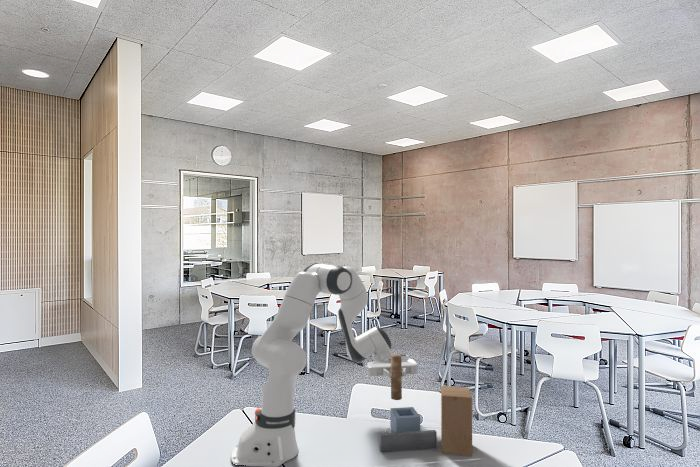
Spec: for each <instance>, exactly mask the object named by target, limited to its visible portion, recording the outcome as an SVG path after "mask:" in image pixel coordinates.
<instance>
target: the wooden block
mask: <svg viewBox="0 0 700 467" xmlns="http://www.w3.org/2000/svg"><path fill="white" fill-rule="evenodd" d="M440 394H441V396H440V406H441V407H440V408H441V410H440V411H441V413H440V415H441V416H440V417H441V419H440V422H441V423H440V427H441V428H440V429H441V430H440V431H441V433H440V434H441V439H440V440H441V453H442V454H444V455H453V456H462V457H463V456H465V457H473V397H472V394H471V390H470V387H465V386H464V387H462V386H449V385H448V386H447V385H441V387H440Z"/></svg>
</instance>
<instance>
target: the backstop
mask: <svg viewBox="0 0 700 467" xmlns="http://www.w3.org/2000/svg"><path fill="white" fill-rule="evenodd" d="M385 430H386V432H383V433H379V452H380V453H382V454H383V453H392V452H407V451H409V452H410V451H419V450H420V451H421V450H422V451H423V450H434V449H437V446H438V445H437V443H438V442H437V439H438V438H437V437H438V436H437V432H438V431H436V430H435V429H431V430H430V429H428V430H421V429H420V431H412V432H397V433H392V431H391V429H390V427H387V428H386V429H385Z"/></svg>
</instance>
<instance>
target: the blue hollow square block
mask: <svg viewBox="0 0 700 467" xmlns="http://www.w3.org/2000/svg"><path fill="white" fill-rule="evenodd" d="M389 409H390V415H389V416H390V423H389V424H390V427H389V428H390V430H391V432H392V433H397V432H412V431H420V430H421V416H420V415H419V413H418V412H417V410H416V409H415V407H414V406H408V407H407V406H406V407H405V406H404V407H390V408H389Z"/></svg>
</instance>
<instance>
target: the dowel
mask: <svg viewBox="0 0 700 467" xmlns="http://www.w3.org/2000/svg"><path fill="white" fill-rule="evenodd" d="M391 372H392V377H390V398H391V400H394V401H401V400H402V399H403V395H402V394H403V392H402V391H403V389H402V388H403V387H402V383H403V381H402V377H403V376H402V361H401V355H400V354H399V353H396V354H392V355H391Z"/></svg>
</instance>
